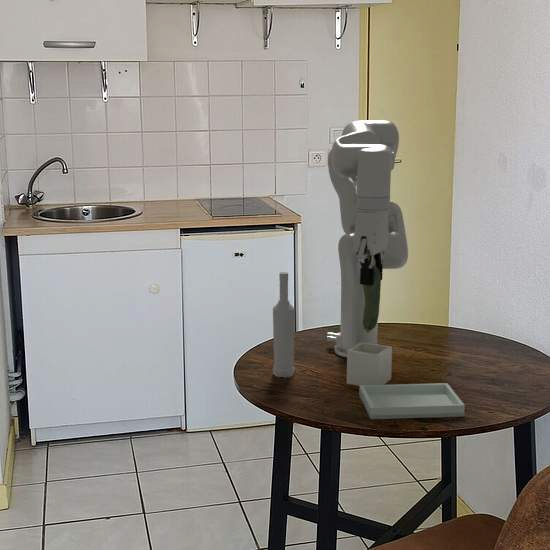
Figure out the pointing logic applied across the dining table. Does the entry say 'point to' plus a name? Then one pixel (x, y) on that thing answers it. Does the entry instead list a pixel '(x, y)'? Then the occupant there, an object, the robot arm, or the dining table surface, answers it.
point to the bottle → (283, 332)
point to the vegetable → (372, 300)
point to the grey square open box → (369, 364)
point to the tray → (410, 401)
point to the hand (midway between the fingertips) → (371, 281)
